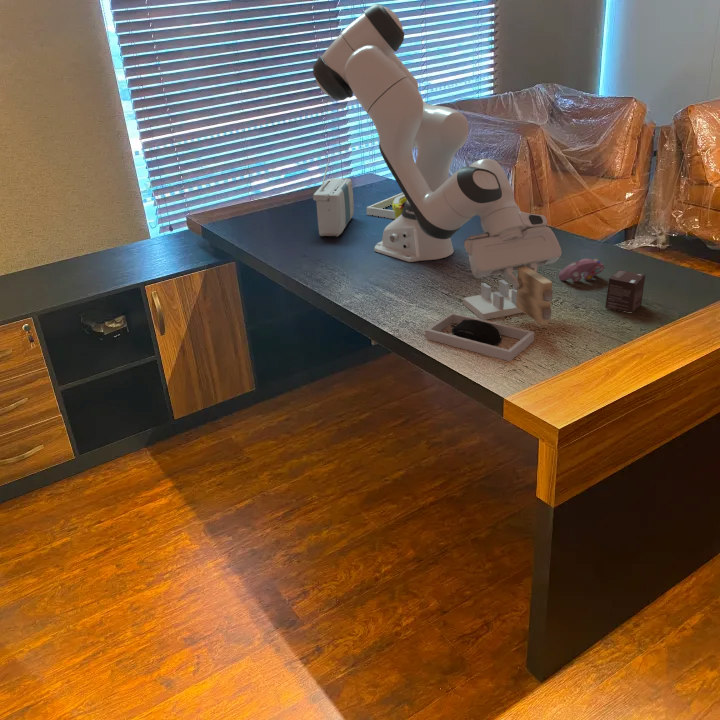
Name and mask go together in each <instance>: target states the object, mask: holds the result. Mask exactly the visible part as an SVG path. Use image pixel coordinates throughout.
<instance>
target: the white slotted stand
mask: <svg viewBox="0 0 720 720" xmlns="http://www.w3.org/2000/svg"><path fill="white" fill-rule="evenodd" d="M516 302H517V290H514V288H510V282H507V281H506V280H504V279H499V280H498V291H493V292H492V286H490V285H489V284H487V283H486V282H481V283H480V294H477V295H472V296H467V297H462V304H463V305H464V306H465V307H466V308H467V309H469V311H471V312H472V313H474V314H475V315H476V316H477V318H479V319H482V320H486V321H488V320H491V319H496V318H502V317H507V316H512V315H517V314H521V313H524V312H523V311H521V310H520V309H519V308H517V307H516Z"/></svg>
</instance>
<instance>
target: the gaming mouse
mask: <svg viewBox="0 0 720 720" xmlns="http://www.w3.org/2000/svg"><path fill="white" fill-rule="evenodd" d="M449 326H450V327H452V330H451V332H452V335H454V336H458V337H462V338H466V339H469V340H473V341H477V342H481V343H485V344H489V345H492V346H496V347H497V345H500V343H501V341H502V340H503V339H502V336H501V334H499V332H498V329H496V328H495V327H494V326H493V325H491V324H489V323H486V322H482V321H479V320H466V319H465V320H463V321H462V322H460V323H459V324H457V323H456V324H455V325H451V324H450V325H449Z"/></svg>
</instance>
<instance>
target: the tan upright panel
mask: <svg viewBox="0 0 720 720" xmlns="http://www.w3.org/2000/svg"><path fill="white" fill-rule="evenodd" d="M516 278H517V279H521V280H522V283H523V287H522V288H521V289H518V290H517V302H516V307H517V308H519V309H520V310H521V311H523V313H524V314H525V315H527V316H528V317H530V318H531V319H532V320H534V321H535V322H536V323H538V324H539V325H546V324H550V320H551V318H552V317H551V316H552V308H551V305H552V302H551V301H552V300H553V289H552V288H553V281H551V280H549V279H548V278H546V277H545V276H544V275H541V274H540V273H538V271H537V272H535V271H533V270H532V269H530V268H528V267H527V266H525V267H520V268H518V270H517V277H516Z"/></svg>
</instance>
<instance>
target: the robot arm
mask: <svg viewBox="0 0 720 720" xmlns="http://www.w3.org/2000/svg"><path fill="white" fill-rule="evenodd" d="M404 38H405V32H404V29H403V25H402V22H401V20H400V18H399V17H398V15H397V14H396V13H395V12H394V11H393V10H391V9H390V8H389V7H386V6H384V4H379V3H375V4H372V5H371V6H369V7H367V8H366V9H365V10H364V11H363V13H362V14H361V15H359V16H358V17H357V18H355V19H354V20H353V21H352V22H351V23H349V25H347V26H346V27H344V29H343V30H342V31H341V32H340V34H339V35H338V36H337V37H336V38H335V39H334V40H333V42H332V43H331V44H330V45H329V46H328V47H327V49H325V51H324V52H323V54H322V55H319V57H318V58H317V60H315V63H314V65H313V66H312V71H313V72H312V73H313V76H314V80H315V81H316V84H317V86H318V87H319V89H320V90H321V91H322V92H323V93H324V94H325V95H327V96H328V97H330V98H332V100H335V101H344V100H346V99H348V98H349V99H351V98H353V96H354V97H355V98H356V100H357V101H358V103H359V104H360V106H361V107H362V108H363V110H364V112H366V113H367V115H368V116H369V118H370V119H371V121H372V122H373V124H374V126H375V129H376V131H377V132H376V133H377V135H378V139H379V144H378V148H379V151H380V154H381V156H382V158H383V160H384V162H385V164H386V166H387V168H388V169H389V171H390V173H391V175H392V177H393V178H394V180H395V181H396V183H397V185H398V187H399V188H400V190H401V193H404V195H405V197H406V198H407V201H406V202H404V203H403V204H401V205H399V206H401V207H399V209H402V208H403V211H402V214H401V215H400V216H399V217H398V218H396V219H393V221H390V223H388V224H387V225H386V226H385V228H384V229H383V233H382V239H381V241H380V242H377V243H376V244H375V246H374V252H377V253H380V254H383V255H385V256H390V257H392V258H395V259H399V260H401V261H405V262H407V263H414V262H420V261H432V260H433V261H435V260H440V259H443V258H448V257H449V256H451V255H452V254H453V253H454V251H455V250H454V247H453V244H452V239H451V238H452V236H453V235H455V234H456V233H457V232H458V231H459V230H460V229H461V227H462V226H463V225H465V224H466V223H468V221H470V220H471V219H473V217H475V216H479V218H480V226H481V228H482V231H483V233H479V234H472V235H469V236H468V237H467V238H466V239H465V240H464V241H463V247H464V249H465V252H466V253H467V255H468V260H469V266H470V270H471V273H472V275H473V276H475V277H476V278H478V279H480V278H485V277H488V276H494V275H500V274H502V275H503V277H504V279H505V280H507V281H508V283H509V284H510V283H511V284H512V289H514V290H518V289H521V288H522V287H523V283H522V280H521V279H517V278H518V277H516V276H515V275H514V272H515V271H518V268H520V267H525V266H527V267H528V268H530V269H532V270H533V271H535V272H537V273H538V267H540V266H545V265H551V264H554V263H556V262H557V261H558V260H559V259H560V258H561V256H562V248H561V245H560V243H559V241H558V239H557V236H556V235H555V232H553V230H552V228H550V227H549V226H547V224H548V220H547V217H546V216H545V215H542V214H534V213H528V212H526V211H525V212H524V211H521V209H520V206H519V205H518V204H517V203H516V201H515V194H514V190H513V188H512V187H513V186H512V185H511V183H510V181H509V178H508V177H507V176H508V175H507V174H506V172H505V170H504V169H503V168H502V166H501V164H500V163H499V162H498V161H496V160H495V159H492V158H481V159H478V160H475V161H474V162H472V163H471V164H470V165H468V166H467V165H466V166H463V167H460V168H459V169H458V170H456V171H455V172H454V173H453V174H452V175H450V174H449V173H450V169H451V165H452V162H453V159H454V157H455V155H456V153H457V152H458V151H459V150H460V149H462V148H463V146H464V145H465V144H466V142H467V140H468V135H469V132H470V131H469V122H468V119H467V118H466V116H465V115H464V113H461V112H460V111H457V110H456V109H454V108H452V107H448V106H442V105H441V106H440V105H435V104H430V103H427V102H425V101H424V99H423V98H422V95H421V93H420V91H419V83H418V80H417V78H416V77H415V76H414V75H413V74H412V73H411V72H410V70H409V69H408V68H407V66H406V65H405V64H404V63H403V62H402V61H401V59H400V58H399V57H398V56H397V55H396V53H395V52H398V50H399V49H400V47H401V46H402V44H403V42H404V40H405V39H404ZM413 148H415V149H417V156H416V159H415V160H414V155H413V154H414V153H413V151H414V149H413ZM449 175H450V176H449Z"/></svg>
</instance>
